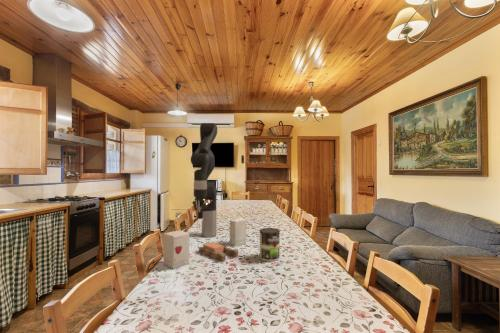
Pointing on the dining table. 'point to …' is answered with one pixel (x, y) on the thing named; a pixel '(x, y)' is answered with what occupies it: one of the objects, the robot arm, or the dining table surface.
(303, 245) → the dining table surface
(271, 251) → the coffee can
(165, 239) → the supplement box
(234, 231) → the skincare box
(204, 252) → the walnut chute
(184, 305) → the dining table surface
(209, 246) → the terracotta block
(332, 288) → the dining table surface
